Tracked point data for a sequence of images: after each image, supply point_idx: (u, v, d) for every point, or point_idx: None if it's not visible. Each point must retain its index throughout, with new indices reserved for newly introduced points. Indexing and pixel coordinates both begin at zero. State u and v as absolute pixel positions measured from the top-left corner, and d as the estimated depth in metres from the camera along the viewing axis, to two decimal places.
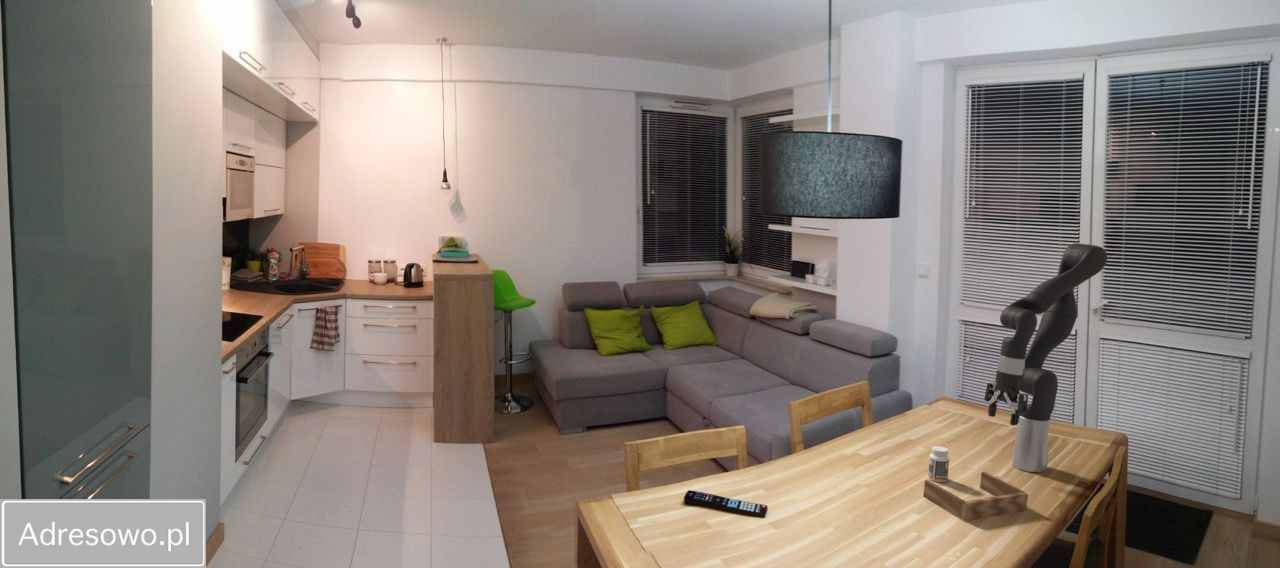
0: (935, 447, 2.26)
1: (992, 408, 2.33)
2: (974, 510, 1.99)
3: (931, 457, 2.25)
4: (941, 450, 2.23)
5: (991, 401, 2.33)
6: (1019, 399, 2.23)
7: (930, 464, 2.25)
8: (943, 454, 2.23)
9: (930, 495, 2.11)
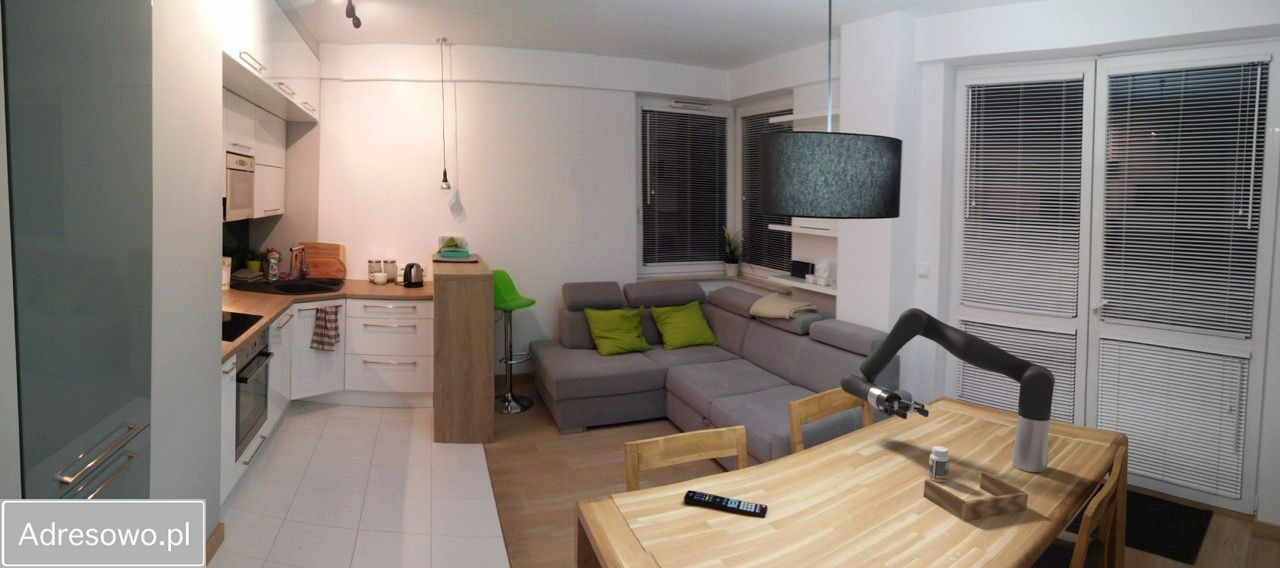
0: (935, 447, 2.26)
1: (920, 413, 2.38)
2: (974, 510, 1.99)
3: (931, 457, 2.25)
4: (941, 450, 2.23)
5: None
6: None
7: (930, 464, 2.25)
8: (943, 454, 2.23)
9: (930, 495, 2.11)
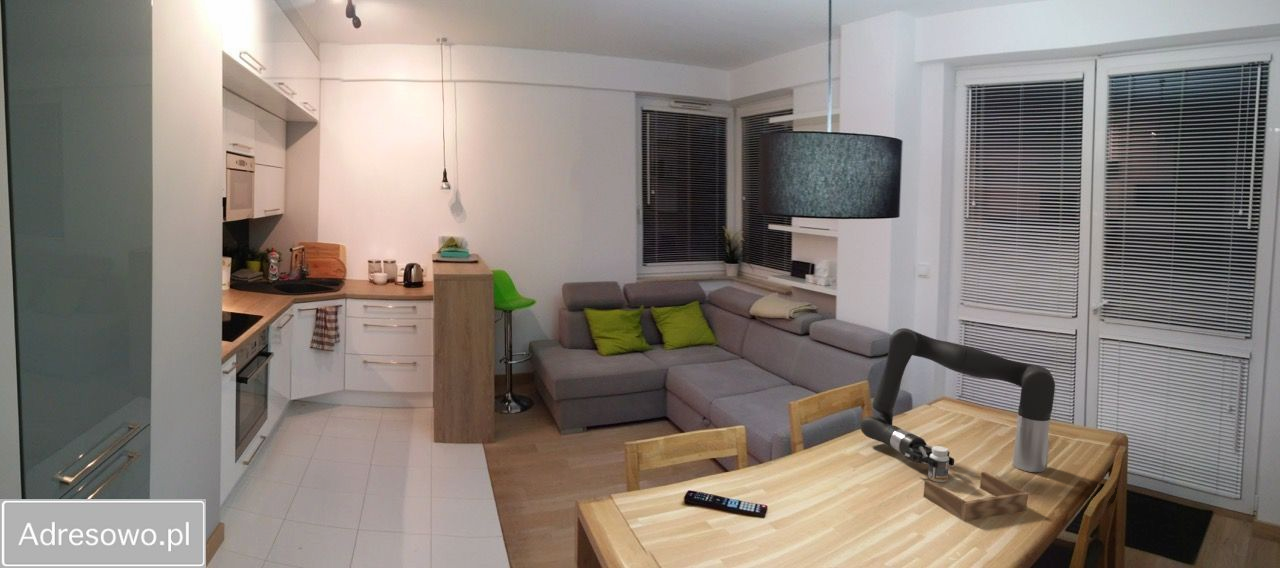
0: (935, 447, 2.26)
1: None
2: (974, 510, 1.99)
3: (931, 457, 2.25)
4: (941, 450, 2.23)
5: None
6: None
7: None
8: (943, 454, 2.23)
9: (930, 495, 2.11)
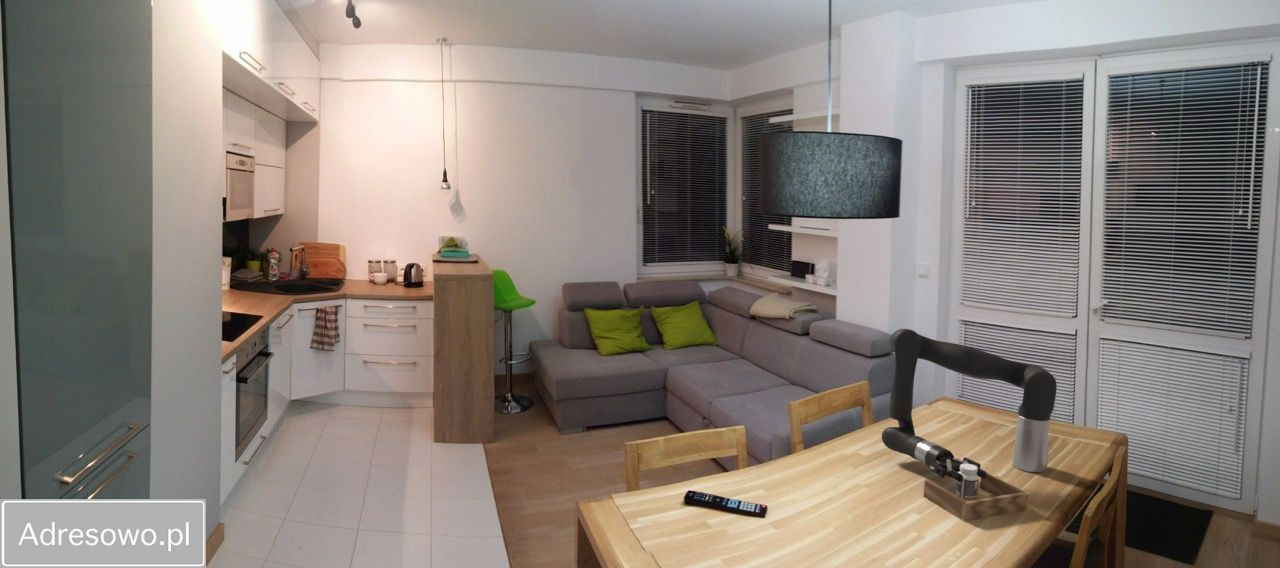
0: (963, 465, 2.12)
1: None
2: (974, 510, 1.99)
3: None
4: (970, 468, 2.10)
5: None
6: None
7: (958, 483, 2.11)
8: (972, 473, 2.09)
9: (930, 495, 2.11)
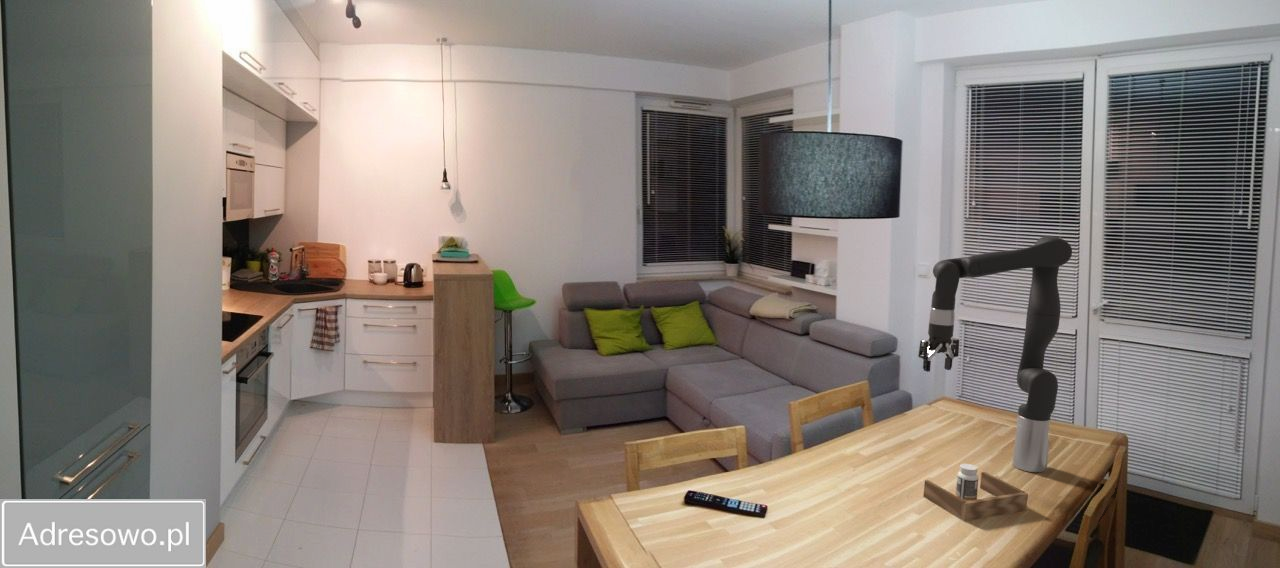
0: (963, 465, 2.12)
1: (946, 361, 2.40)
2: (974, 510, 1.99)
3: (959, 476, 2.11)
4: (970, 468, 2.10)
5: None
6: None
7: (958, 483, 2.11)
8: (972, 473, 2.09)
9: (930, 495, 2.11)
